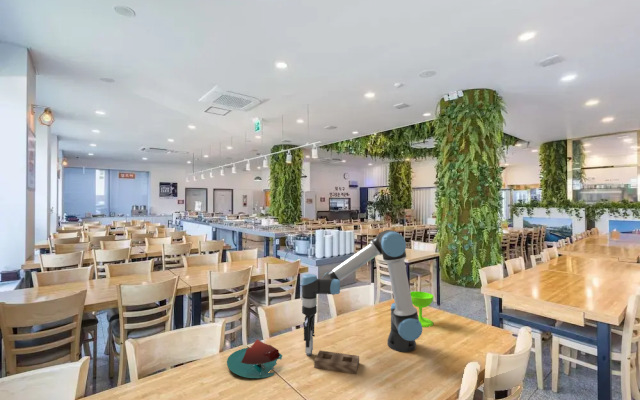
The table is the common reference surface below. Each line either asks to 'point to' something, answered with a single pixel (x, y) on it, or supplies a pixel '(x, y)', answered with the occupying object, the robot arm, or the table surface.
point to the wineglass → (422, 305)
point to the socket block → (337, 362)
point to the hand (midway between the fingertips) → (309, 351)
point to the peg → (311, 345)
